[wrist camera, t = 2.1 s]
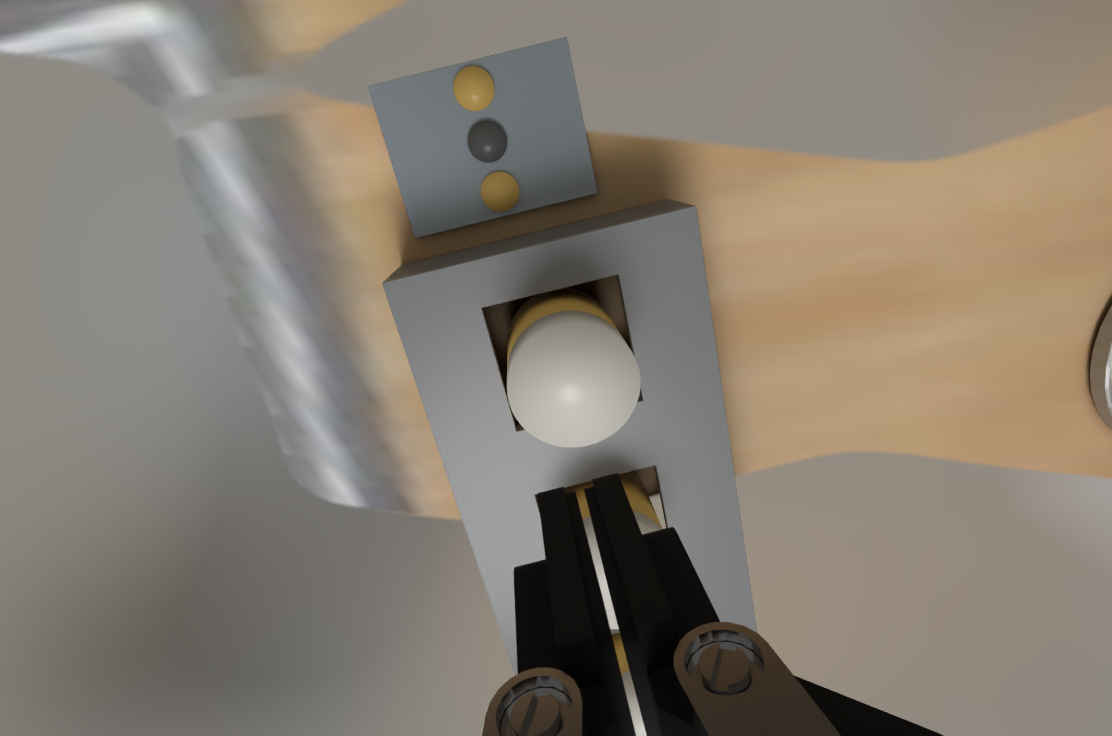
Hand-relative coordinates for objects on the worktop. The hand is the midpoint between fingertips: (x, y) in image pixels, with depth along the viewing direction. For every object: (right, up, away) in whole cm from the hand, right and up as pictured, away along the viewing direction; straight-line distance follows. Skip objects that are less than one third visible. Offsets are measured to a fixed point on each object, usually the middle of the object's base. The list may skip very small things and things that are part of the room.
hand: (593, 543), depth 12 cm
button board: (+1, -2, +18) cm, 18 cm away
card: (-4, +13, +12) cm, 18 cm away
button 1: (-1, +5, +13) cm, 14 cm away
